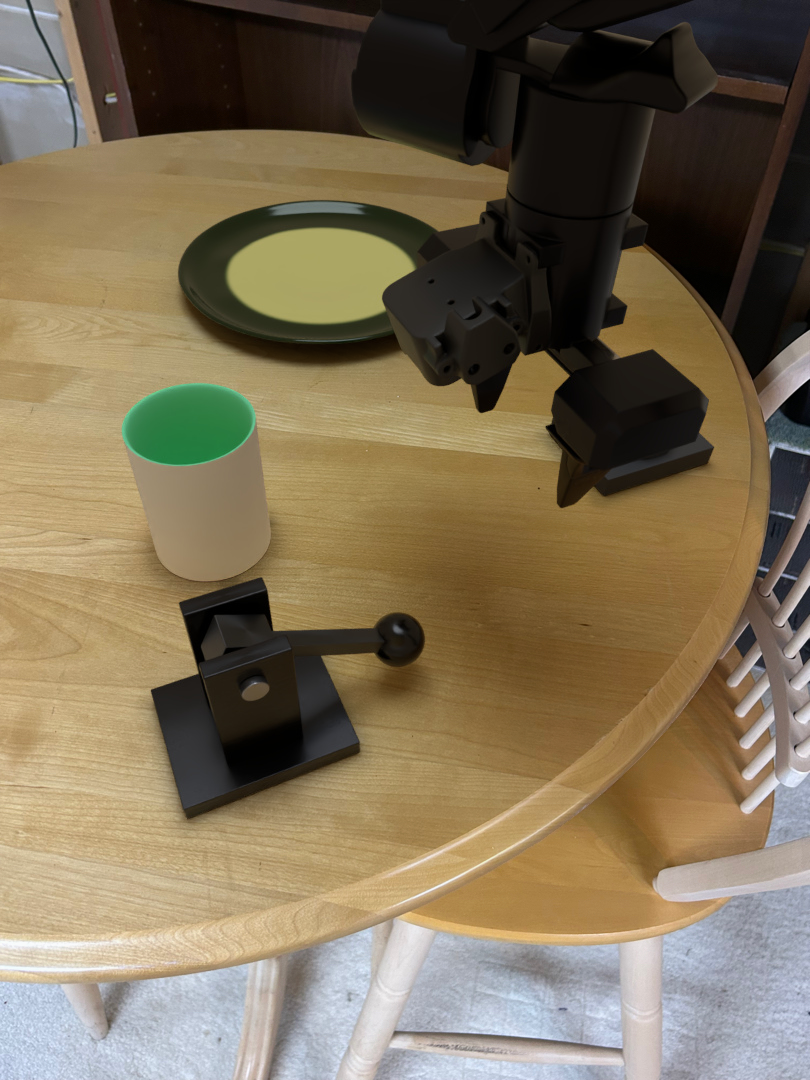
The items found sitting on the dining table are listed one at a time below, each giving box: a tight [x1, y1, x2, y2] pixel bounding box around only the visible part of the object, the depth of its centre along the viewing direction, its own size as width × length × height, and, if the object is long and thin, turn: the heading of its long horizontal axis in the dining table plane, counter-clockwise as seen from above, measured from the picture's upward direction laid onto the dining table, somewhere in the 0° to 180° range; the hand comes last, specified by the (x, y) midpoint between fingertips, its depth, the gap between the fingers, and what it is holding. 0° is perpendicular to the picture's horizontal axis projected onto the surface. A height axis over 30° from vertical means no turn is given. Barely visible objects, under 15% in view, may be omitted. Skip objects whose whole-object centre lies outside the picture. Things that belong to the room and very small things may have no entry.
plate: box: [177, 199, 439, 345], centre depth 80 cm, size 28×28×2 cm
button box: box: [548, 417, 715, 497], centre depth 64 cm, size 8×10×4 cm
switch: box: [150, 576, 361, 820], centre depth 43 cm, size 10×8×10 cm
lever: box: [201, 611, 426, 668], centre depth 44 cm, size 13×3×3 cm, turn 114°
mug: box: [121, 382, 272, 582], centre depth 54 cm, size 12×8×10 cm
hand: (523, 454), depth 47 cm, fingers open, 9 cm apart
